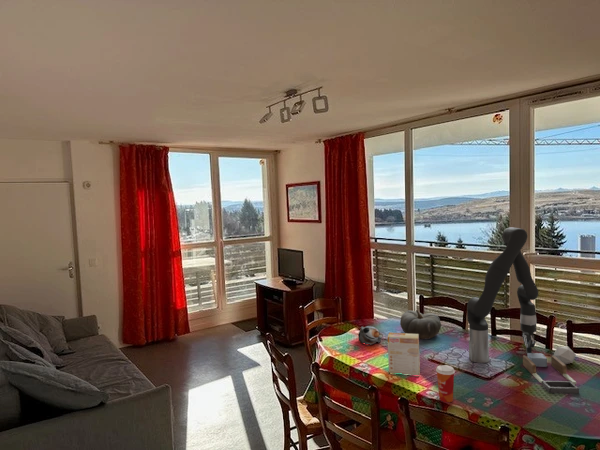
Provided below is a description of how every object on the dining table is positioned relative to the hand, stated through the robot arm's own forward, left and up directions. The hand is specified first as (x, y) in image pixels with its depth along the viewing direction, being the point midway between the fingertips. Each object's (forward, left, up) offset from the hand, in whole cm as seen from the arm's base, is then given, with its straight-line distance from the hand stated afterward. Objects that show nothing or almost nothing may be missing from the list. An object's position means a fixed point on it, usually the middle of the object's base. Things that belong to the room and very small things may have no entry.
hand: (529, 353), depth 217 cm
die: (+14, -9, -2) cm, 16 cm away
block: (0, -11, -2) cm, 11 cm away
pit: (-2, -40, -1) cm, 40 cm away
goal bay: (0, -29, -1) cm, 29 cm away
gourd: (-52, +32, -2) cm, 61 cm away
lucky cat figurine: (-84, +18, -2) cm, 86 cm away
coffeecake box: (-68, -25, -2) cm, 73 cm away
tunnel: (0, -19, -1) cm, 19 cm away
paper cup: (-53, -52, -1) cm, 74 cm away
